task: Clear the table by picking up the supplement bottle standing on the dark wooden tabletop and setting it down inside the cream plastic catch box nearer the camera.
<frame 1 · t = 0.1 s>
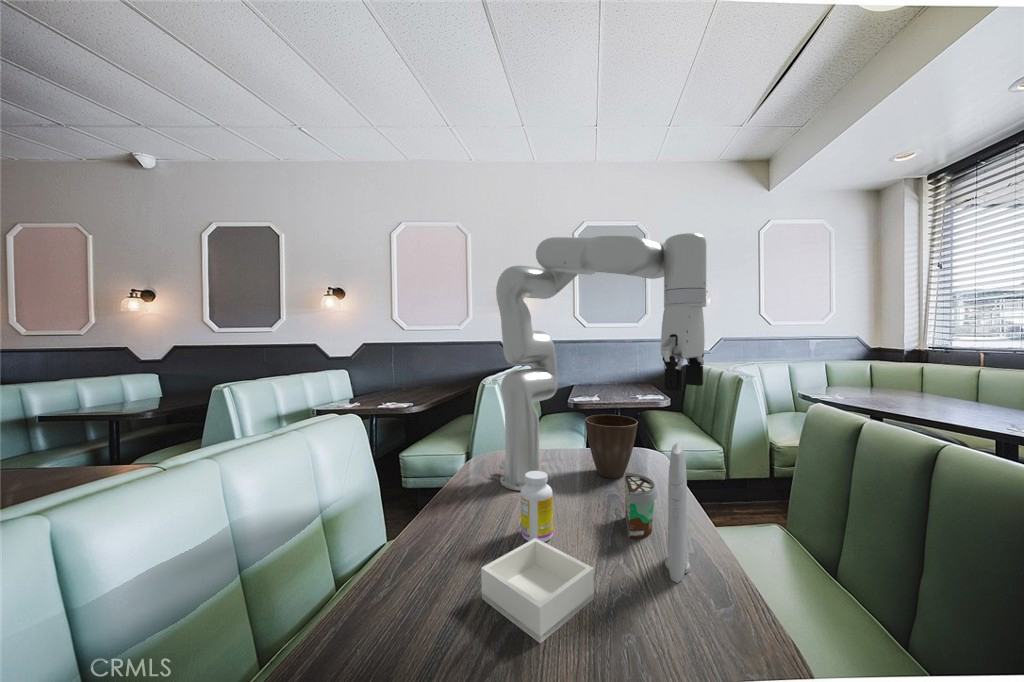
hand: (684, 387, 76), 31 cm above the table, tool pointing down, fingers open, 9 cm apart
supplement bottle: (537, 536, 81), on the table
tall pale column: (677, 567, 70), on the table
plant pot: (611, 474, 115), on the table
food container: (642, 529, 84), on the table
catch box: (537, 598, 62), on the table
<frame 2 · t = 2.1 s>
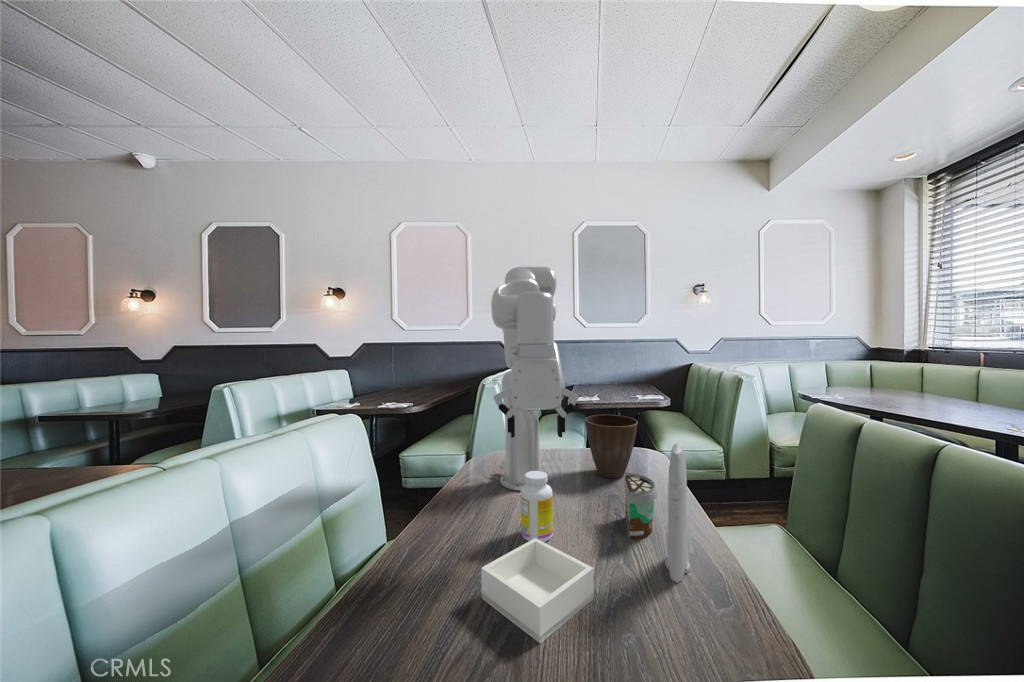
hand: (536, 435, 80), 21 cm above the table, tool pointing down, fingers open, 9 cm apart
nothing on the table moved.
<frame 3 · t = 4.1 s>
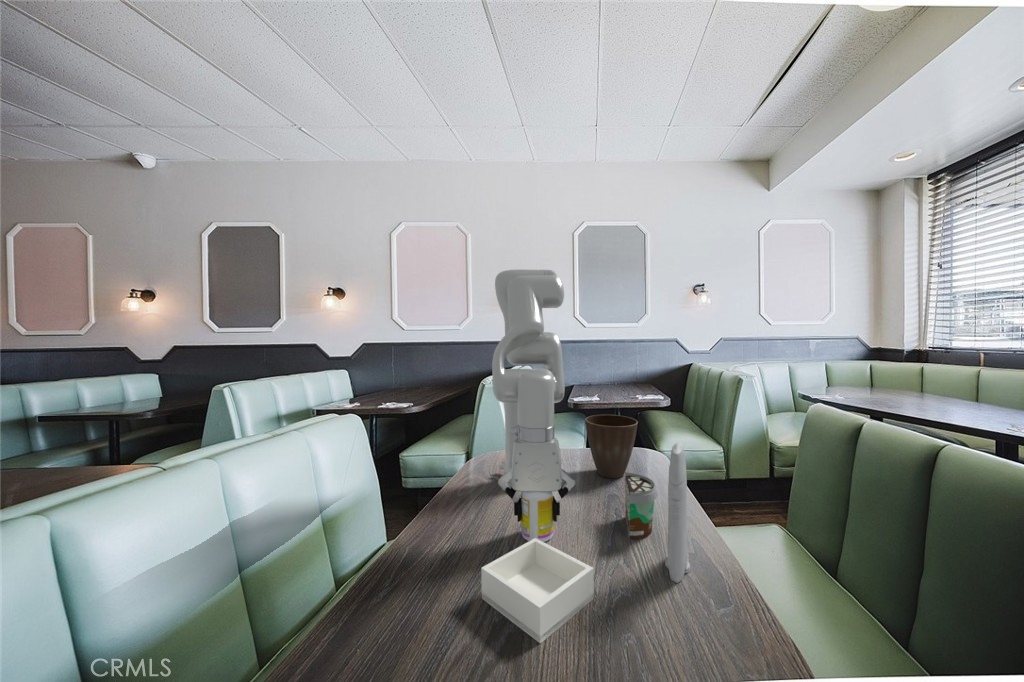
hand: (536, 517, 81), 4 cm above the table, tool pointing down, fingers closed on supplement bottle, 6 cm apart
supplement bottle: (537, 536, 81), on the table, touching gripper
everything else where it was.
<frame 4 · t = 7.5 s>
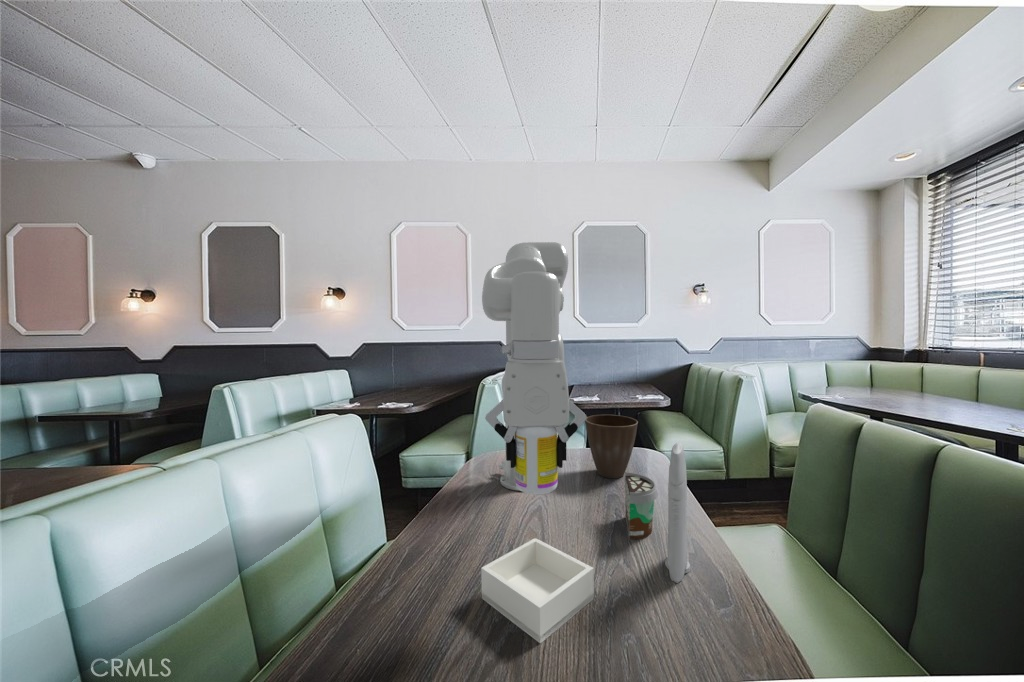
hand: (536, 464, 62), 22 cm above the table, tool pointing down, fingers closed on supplement bottle, 6 cm apart
supplement bottle: (536, 488, 62), point 18 cm above the table, touching gripper
everything else where it was.
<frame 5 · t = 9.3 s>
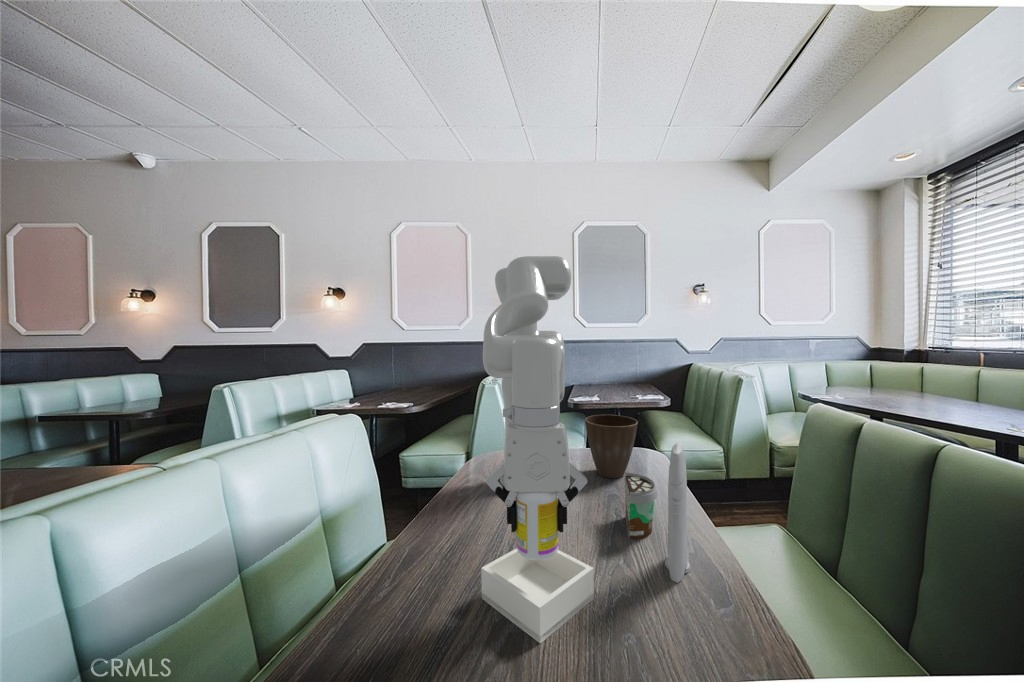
hand: (536, 527, 62), 12 cm above the table, tool pointing down, fingers closed on supplement bottle, 6 cm apart
supplement bottle: (537, 551, 62), point 8 cm above the table, touching gripper
everything else where it was.
when the fingers open (6 cm above the table, at t = 10.8 s): supplement bottle drops 2 cm, resting on catch box.
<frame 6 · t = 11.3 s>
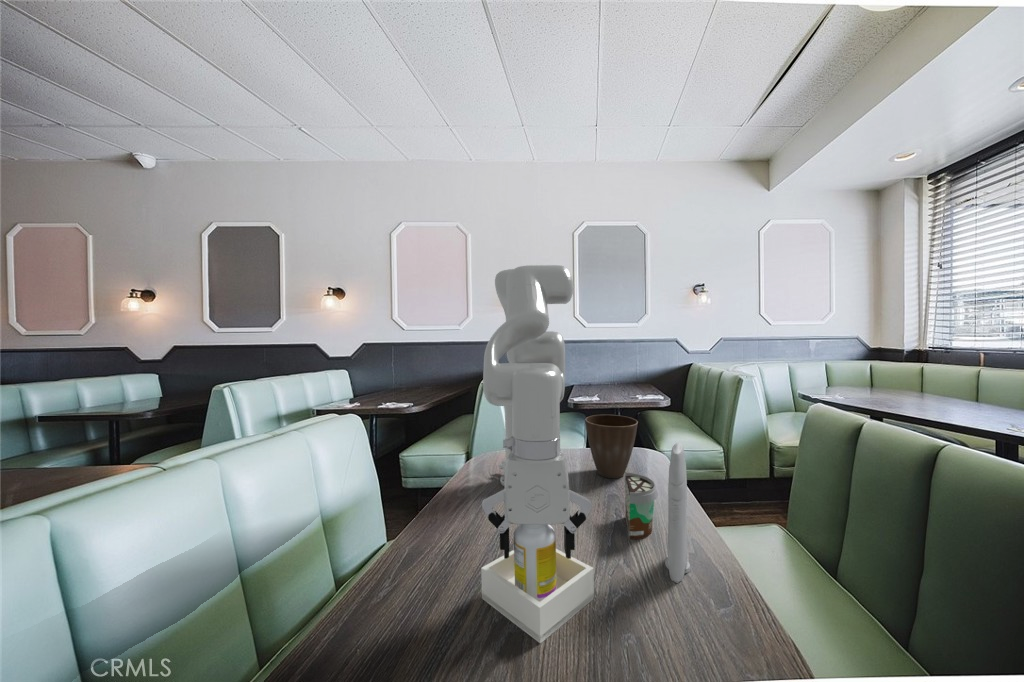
hand: (537, 553, 62), 7 cm above the table, tool pointing down, fingers open, 9 cm apart
supplement bottle: (535, 592, 62), point 1 cm above the table, touching catch box
everything else where it was.
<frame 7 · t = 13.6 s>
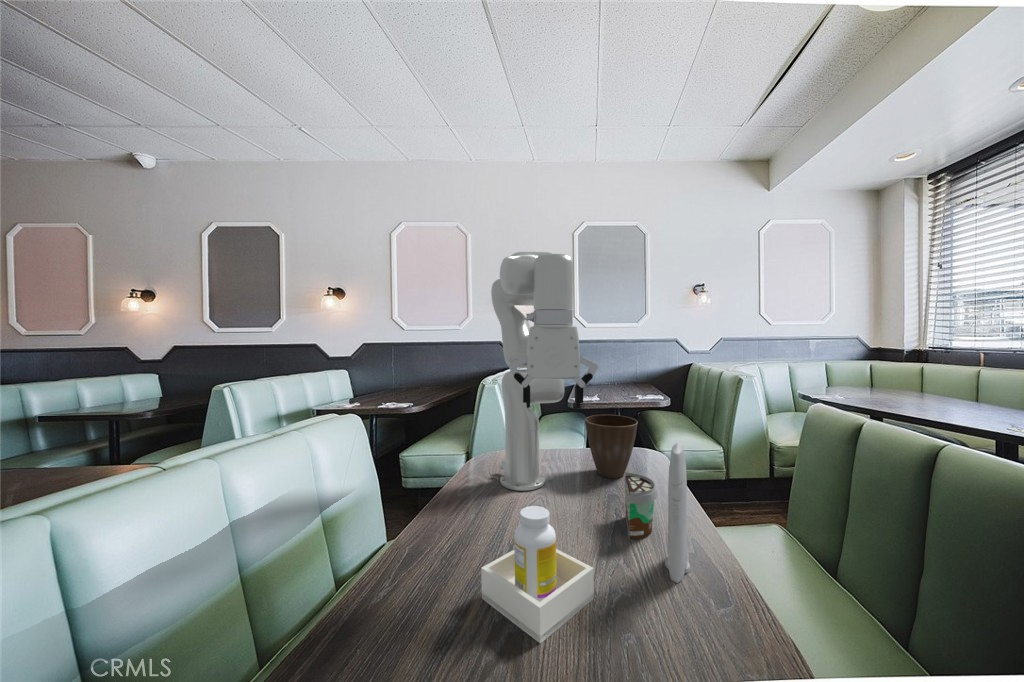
hand: (552, 406, 77), 28 cm above the table, tool pointing down, fingers open, 9 cm apart
nothing on the table moved.
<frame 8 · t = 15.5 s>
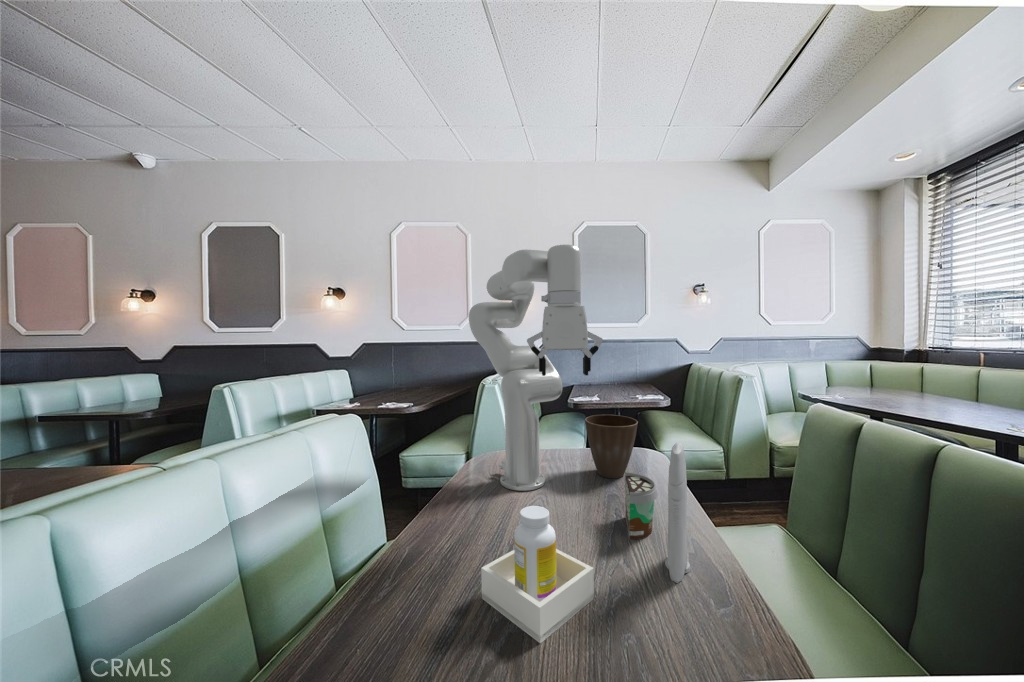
hand: (564, 374, 90), 32 cm above the table, tool pointing down, fingers open, 9 cm apart
nothing on the table moved.
at the end: supplement bottle inside the target area on the catch box (0.4 cm from its centre), point 0.8 cm above the catch box's base; supplement bottle tilted 0°; the gripper is holding nothing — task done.
